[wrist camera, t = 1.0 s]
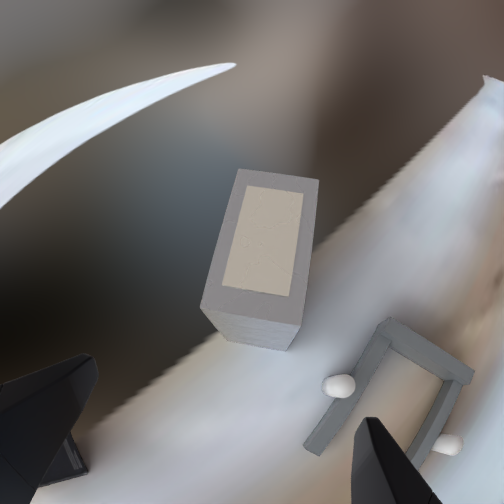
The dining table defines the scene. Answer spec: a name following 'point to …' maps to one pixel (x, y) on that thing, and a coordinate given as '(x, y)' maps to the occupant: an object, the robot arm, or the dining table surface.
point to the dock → (354, 385)
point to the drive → (262, 259)
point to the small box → (65, 464)
